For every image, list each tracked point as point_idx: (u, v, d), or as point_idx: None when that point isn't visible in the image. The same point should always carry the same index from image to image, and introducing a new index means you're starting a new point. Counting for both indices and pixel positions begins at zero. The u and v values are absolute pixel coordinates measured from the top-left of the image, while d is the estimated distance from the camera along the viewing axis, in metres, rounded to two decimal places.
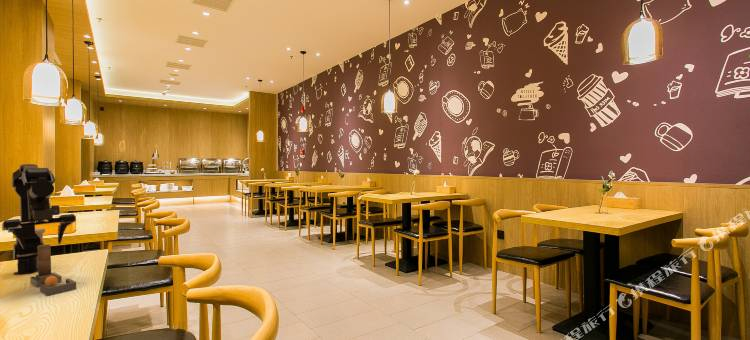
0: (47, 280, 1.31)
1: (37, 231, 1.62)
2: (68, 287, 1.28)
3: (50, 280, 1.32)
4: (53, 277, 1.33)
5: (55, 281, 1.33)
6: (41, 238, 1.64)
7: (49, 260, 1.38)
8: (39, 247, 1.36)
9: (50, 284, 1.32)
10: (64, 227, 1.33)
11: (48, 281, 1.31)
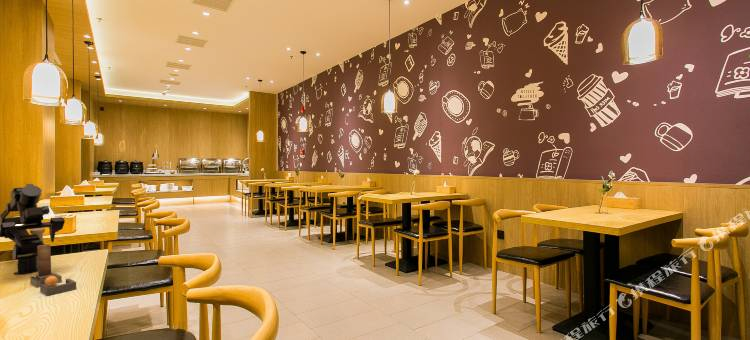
0: (47, 280, 1.31)
1: (37, 231, 1.62)
2: (68, 287, 1.28)
3: (50, 280, 1.32)
4: (53, 277, 1.33)
5: (55, 281, 1.33)
6: (41, 238, 1.64)
7: (49, 260, 1.38)
8: (39, 247, 1.36)
9: (50, 284, 1.32)
10: (55, 227, 1.48)
11: (48, 281, 1.31)
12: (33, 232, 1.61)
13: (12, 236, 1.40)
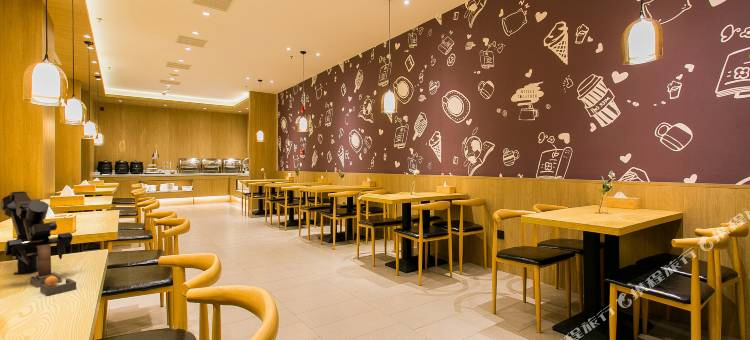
0: (47, 280, 1.31)
1: None
2: (68, 287, 1.28)
3: (50, 280, 1.32)
4: (53, 277, 1.33)
5: (55, 281, 1.33)
6: None
7: (49, 260, 1.38)
8: (39, 247, 1.36)
9: (50, 284, 1.32)
10: (63, 243, 1.43)
11: (48, 281, 1.31)
12: None
13: (19, 254, 1.35)
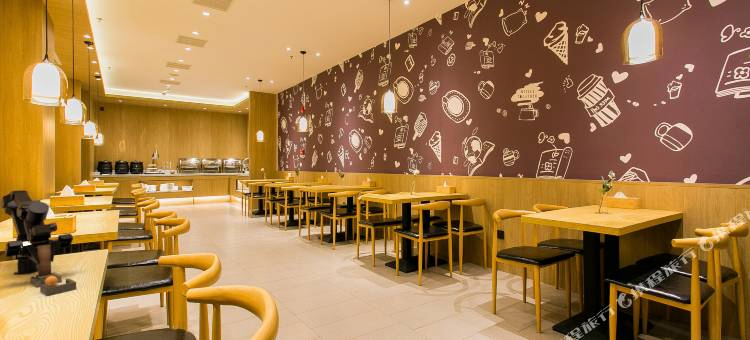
0: (47, 280, 1.31)
1: None
2: (68, 287, 1.28)
3: (50, 280, 1.32)
4: (53, 277, 1.33)
5: (55, 281, 1.33)
6: None
7: (49, 260, 1.38)
8: (39, 247, 1.36)
9: (50, 284, 1.32)
10: (54, 246, 1.41)
11: (48, 281, 1.31)
12: None
13: (29, 254, 1.36)
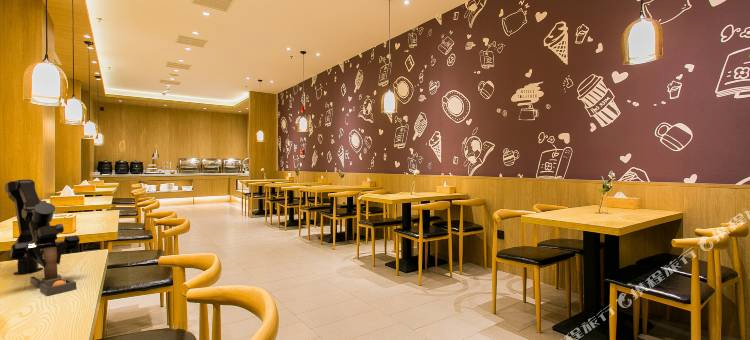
0: None
1: None
2: (68, 287, 1.28)
3: (56, 281, 1.28)
4: None
5: (62, 281, 1.28)
6: None
7: (55, 263, 1.33)
8: (45, 250, 1.31)
9: (57, 283, 1.27)
10: (61, 248, 1.36)
11: None
12: None
13: (34, 256, 1.32)
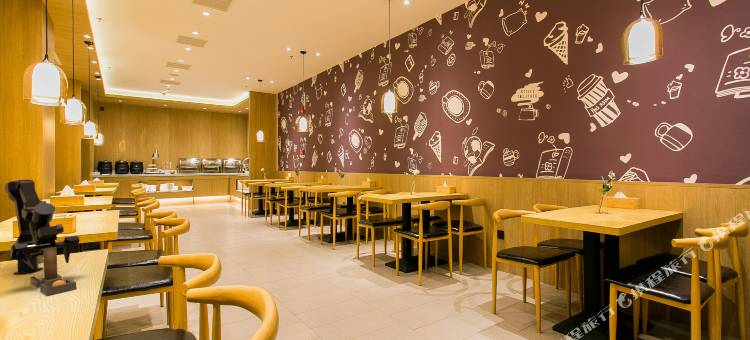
0: (53, 283, 1.28)
1: None
2: (68, 287, 1.28)
3: None
4: None
5: (61, 280, 1.29)
6: None
7: (55, 263, 1.33)
8: (45, 250, 1.31)
9: (57, 282, 1.27)
10: (69, 247, 1.39)
11: (54, 282, 1.27)
12: None
13: (24, 258, 1.30)
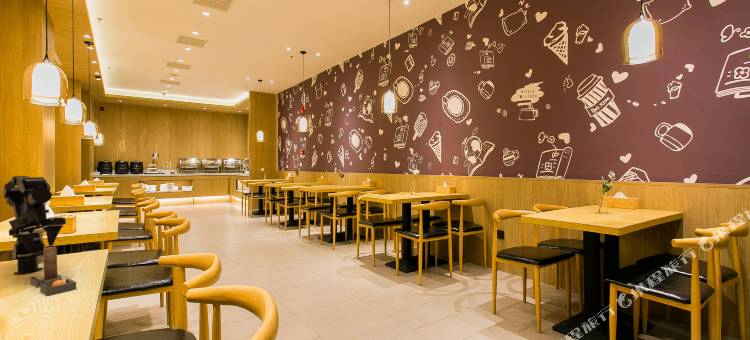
0: None
1: (37, 231, 1.62)
2: (68, 287, 1.28)
3: None
4: None
5: (60, 280, 1.29)
6: (41, 238, 1.64)
7: (55, 263, 1.33)
8: (45, 250, 1.31)
9: (56, 281, 1.28)
10: (48, 230, 1.39)
11: None
12: None
13: None
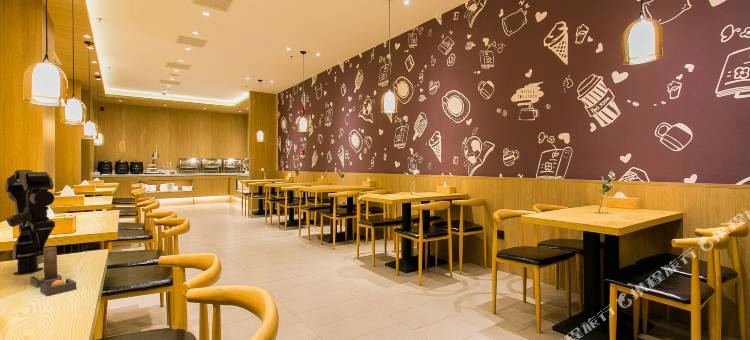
0: None
1: None
2: (68, 287, 1.28)
3: None
4: None
5: None
6: None
7: (55, 263, 1.33)
8: (45, 250, 1.31)
9: (55, 281, 1.28)
10: (36, 233, 1.37)
11: None
12: None
13: None
